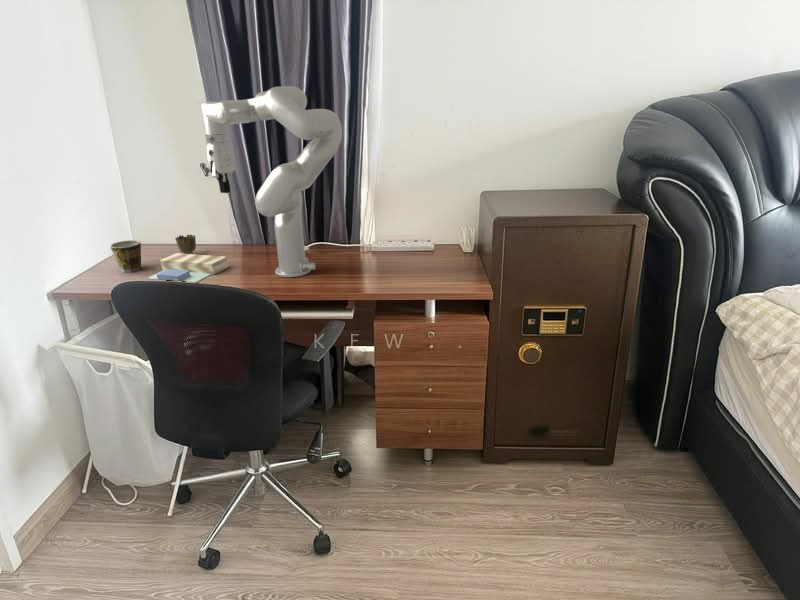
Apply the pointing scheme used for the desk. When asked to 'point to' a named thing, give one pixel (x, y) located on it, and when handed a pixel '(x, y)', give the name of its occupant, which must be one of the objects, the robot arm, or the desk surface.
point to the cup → (186, 244)
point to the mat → (193, 277)
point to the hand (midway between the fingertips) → (225, 192)
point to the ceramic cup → (127, 255)
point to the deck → (195, 263)
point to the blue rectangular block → (173, 275)
